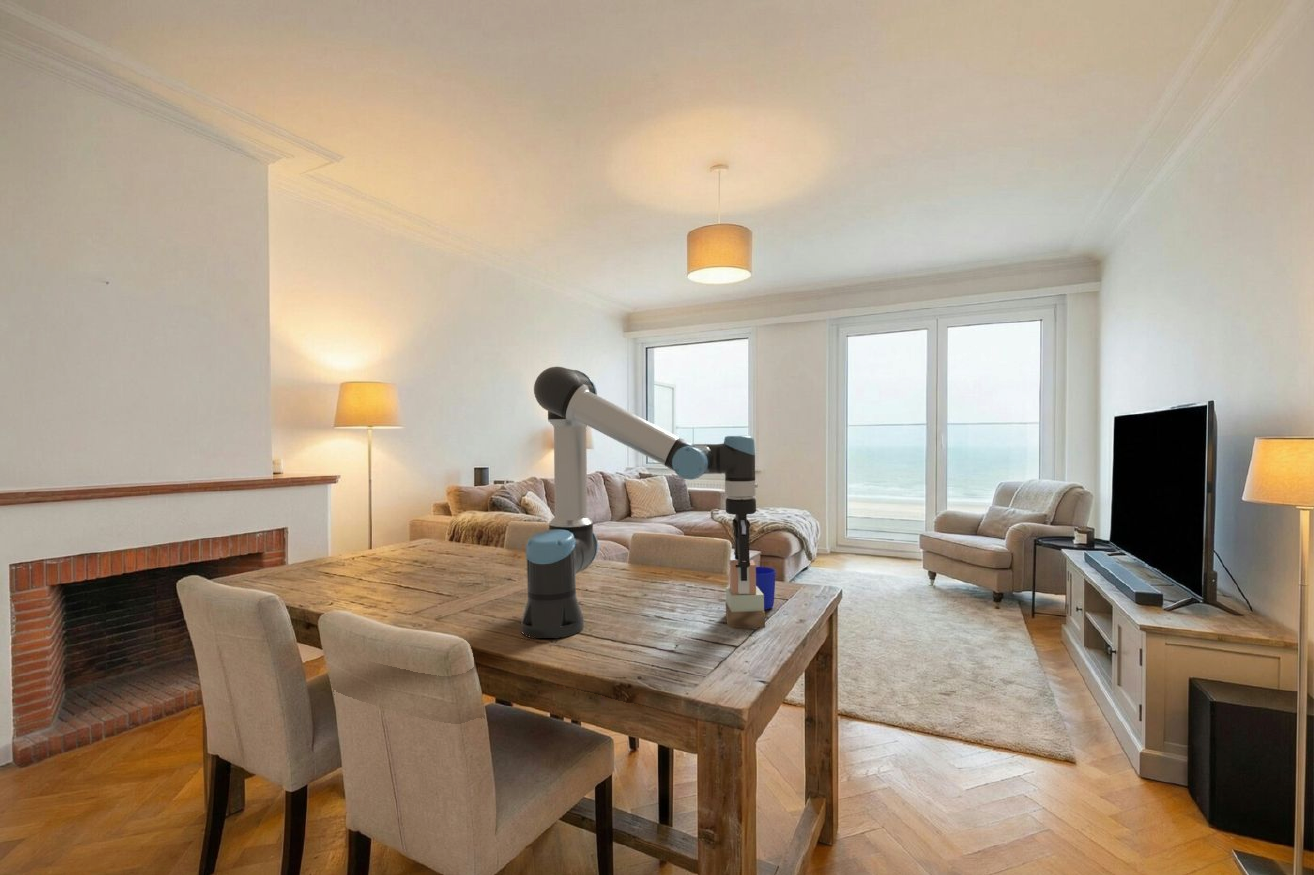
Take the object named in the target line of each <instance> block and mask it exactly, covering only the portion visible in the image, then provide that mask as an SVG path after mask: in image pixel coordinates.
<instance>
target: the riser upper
mask: <svg viewBox="0 0 1314 875" xmlns="http://www.w3.org/2000/svg"><path fill="white" fill-rule="evenodd" d="M726 603H727V605H728V607H729V608H730V610H731V612H749V611H765V610H764V594H763V593H762V592H761V591H760V589H759V588H758V587H757V586H756V594H732V593H731V590H730V586H726V587H725V604H726Z"/></svg>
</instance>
